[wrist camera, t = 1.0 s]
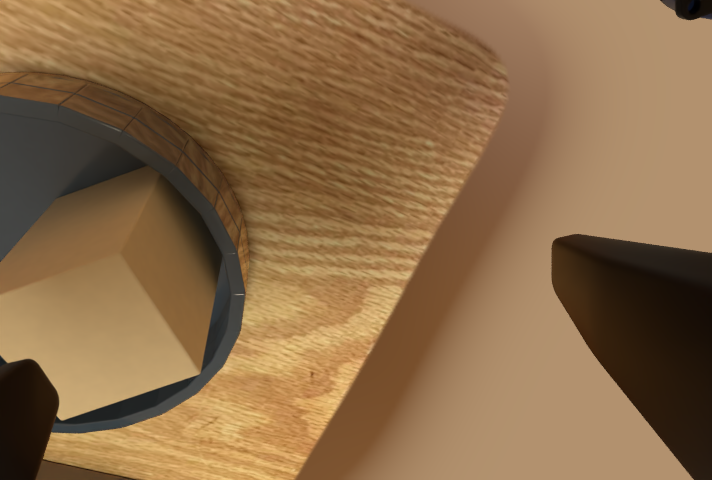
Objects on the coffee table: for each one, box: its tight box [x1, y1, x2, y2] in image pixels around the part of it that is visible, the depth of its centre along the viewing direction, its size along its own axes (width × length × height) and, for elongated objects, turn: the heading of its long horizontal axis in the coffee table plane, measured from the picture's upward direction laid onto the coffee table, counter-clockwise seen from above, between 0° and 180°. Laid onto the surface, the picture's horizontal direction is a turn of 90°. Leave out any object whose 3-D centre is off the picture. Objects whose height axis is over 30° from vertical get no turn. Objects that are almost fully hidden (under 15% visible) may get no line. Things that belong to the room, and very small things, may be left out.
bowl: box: [0, 72, 249, 434], centre depth 21 cm, size 15×15×4 cm
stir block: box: [0, 166, 222, 420], centre depth 19 cm, size 5×5×8 cm
